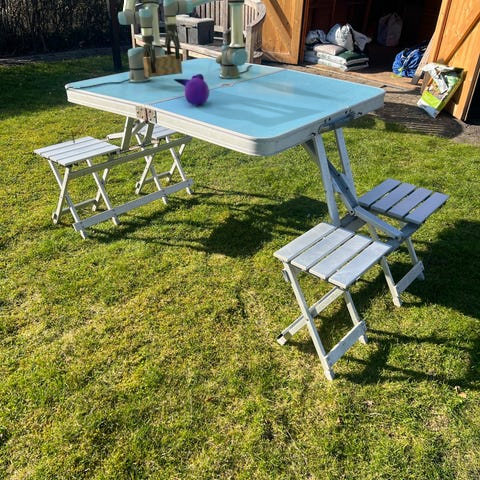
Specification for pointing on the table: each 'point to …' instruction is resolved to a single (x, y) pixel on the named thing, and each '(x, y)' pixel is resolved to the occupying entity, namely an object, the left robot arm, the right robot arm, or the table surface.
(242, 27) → the right robot arm
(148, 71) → the box
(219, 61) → the teapot
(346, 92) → the table surface
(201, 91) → the toy
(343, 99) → the table surface
